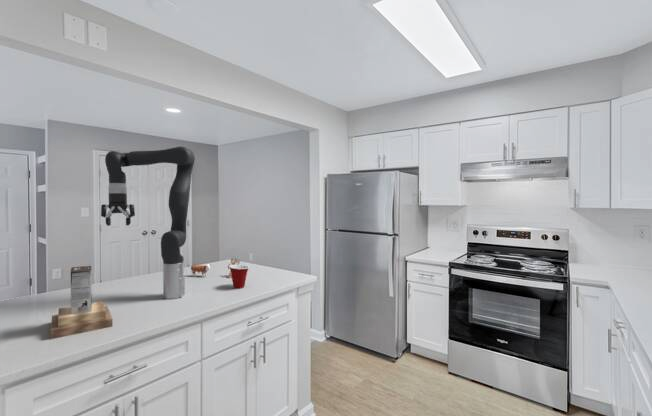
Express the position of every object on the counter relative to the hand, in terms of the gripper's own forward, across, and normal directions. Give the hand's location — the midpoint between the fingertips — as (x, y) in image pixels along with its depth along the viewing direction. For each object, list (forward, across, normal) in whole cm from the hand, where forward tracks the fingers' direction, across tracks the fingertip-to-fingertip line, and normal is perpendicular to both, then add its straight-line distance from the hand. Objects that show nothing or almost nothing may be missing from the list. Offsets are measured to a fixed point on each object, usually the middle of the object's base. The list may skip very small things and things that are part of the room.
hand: (118, 225), depth 157 cm
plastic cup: (+37, +57, +11) cm, 68 cm away
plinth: (+36, +2, -35) cm, 50 cm away
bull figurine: (+36, +31, +38) cm, 61 cm away
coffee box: (+30, +2, -35) cm, 46 cm away
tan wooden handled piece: (+37, +51, +36) cm, 72 cm away
